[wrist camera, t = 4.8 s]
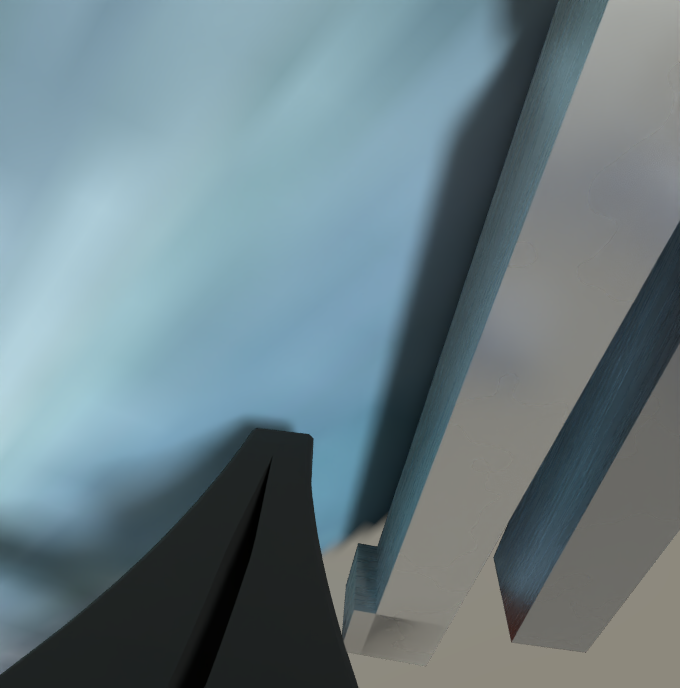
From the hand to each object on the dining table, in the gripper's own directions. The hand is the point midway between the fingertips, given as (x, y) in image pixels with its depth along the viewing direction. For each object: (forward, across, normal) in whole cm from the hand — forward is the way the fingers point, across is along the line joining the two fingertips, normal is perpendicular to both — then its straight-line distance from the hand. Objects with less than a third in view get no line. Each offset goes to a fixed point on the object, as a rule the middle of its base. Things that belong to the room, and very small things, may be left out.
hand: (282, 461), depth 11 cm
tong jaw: (+1, -4, -1) cm, 4 cm away
